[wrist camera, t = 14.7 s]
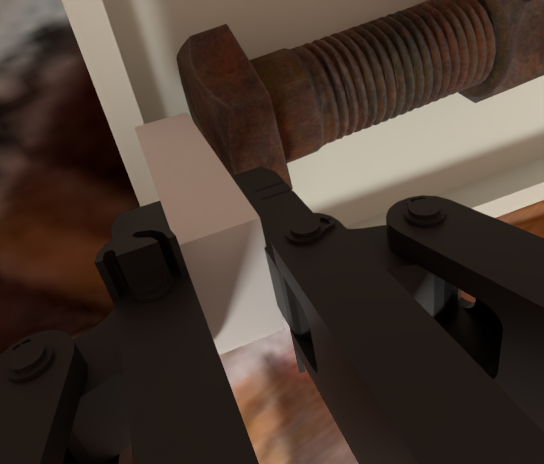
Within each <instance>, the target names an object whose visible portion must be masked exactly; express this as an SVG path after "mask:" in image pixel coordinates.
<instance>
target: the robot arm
mask: <svg viewBox="0 0 544 464" xmlns="http://www.w3.org/2000/svg"><path fill="white" fill-rule="evenodd" d="M134 128H135V131H136V134H137V136H138V139H139V142H140V145H141V148H142V151H143V153H144V156H145V159H146V162H147V165H148V168H149V171H150V173H151V176H152V179H153V182H154V185H155V188H156V191H157V193H158V196H159V199H160V201H157V202H154V203H151V204H148V205H145V206H141V207H138V208H135V209H132V210H129V211H126V212H123V213H120V214H118V215H117V217H116V219H115V221H114V222H113V224H112V226H111V233H112V240H111V241H109V242H108V243H107V244H105V245H104V247H103V248H102V249H101V250H100V251H99V252H98V254H97V257H96V261H95V265H96V267H97V269H98V271H99V273H100V275H101V277H102V279H103V282H104V284H105V286H106V288H107V290H108V292H109V294H110V296H111V298H112V300H113V304H114V309H113V310H112V312H111V313H110V314H109V315H108V316H107V317H106V318H105V319H104V320H103V321H102V322H100V323H99V324H98V325H96V326H95V327H93V328H92V329H90V330H89V331H87V332H85V333H84V334H82V335H80V336H79V337H77V338H75V339H74V340H73V339H72V338H71V336H70V335H69V334H68V333H65V332H62V331H59V330H49V331H41V332H38V333H35V334H32V335H29V336H26V337H25V338H23V339H21V340H19V341H17V342H16V343H14V344H13V345H11V346H10V347H8V348H7V349H6V350H5V351H4V352H3V353H2V354H0V464H131V458H132V454H133V462H134V464H259V463H258V460H257V457H256V455H255V452H254V449H253V446H252V444H251V441H250V438H249V436H248V433H247V430H246V427H245V425H244V422H243V419H242V417H241V414H240V411H239V408H238V406H237V403H236V400H235V398H234V395H233V392H232V389H231V387H230V384H229V381H228V378H227V376H226V373H225V370H224V368H223V365H222V362H221V359H220V357H219V355H221V354H223V353H226V352H228V351H231V350H234V349H236V348H239V347H241V346H244V345H246V344H249V343H251V342H254V341H256V340H259V339H261V338H264V337H267V336H269V335H272V334H274V333H277V332H279V331H282V330H284V329H285V328H284V323H283V319H282V315H283V316H284V318H285V320H286V321H287V323H288V325H289V327H290V331H291V336H292V341H293V345H294V350H295V354H296V359H297V364H298V368H299V372H300V373H302V372H304V371H305V369H304V366H305V367H306V369H307V371H308V373H309V375H310V376H311V378H312V380H313V382H314V384H315V385H316V387H317V389H318V391H319V393H320V395H321V396H322V398H323V400H324V402H325V404H326V405H327V407H328V409H329V411H330V413H331V414H332V416H333V418H334V420H335V422H336V423H337V425H338V427H339V429H340V431H341V432H342V434H343V436H344V438H345V440H346V442H347V443H348V445H349V447H350V449H351V451H352V452H353V454H354V456H355V458H356V460H357V461H358V463H359V464H544V238H541V237H539V236H537V235H534V234H532V233H529V232H527V231H525V230H522V229H520V228H517V227H515V226H512V225H510V224H508V223H505V222H503V221H500V220H498V219H496V218H493V217H491V216H488V215H486V214H484V213H481V212H479V211H476V210H474V209H471V208H469V207H467V206H464V205H462V204H459V203H457V202H455V201H452V200H449V199H446V198H442V197H438V196H426V195H421V196H414V197H409V198H406V199H404V200H401V201H398V202H396V203H395V204H394V205H393V206H391V207H390V208H389V210H388V212H387V215H386V225H381V226H374V227H367V228H358V229H347V228H346V227H345V226H344V225H343V224H342V223H341V222H340V221H339V220H337V219H335V218H334V217H332V216H330V215H326V214H322V213H313V212H312V211H311V210H310V209H309V208H308V206H307V205H306V204H305V203H304V202H303V201H302V200H301V199H300V198H299V197H298V195H297V194H296V193H295V192H294V191H292V189H291V188H290V187H289V186H288V184H287V183H285V181H284V180H283V179H282V178H281V177H280V176H279V175H278V173H277V172H275V171H272V170H269V169H267V168H264V167H261V166H260V167H257V168H254V169H251V170H248V171H245V172H242V173H239V174H236V175H232V176H231V175H230V174H229V173H228V171H227V170H226V168H225V167H224V165H223V164H222V162H221V161H220V160H219V158H218V157H217V155H216V154H215V152H214V151H213V150H212V148H211V147H210V145H209V144H208V142H207V141H206V140H205V138H204V137H203V135H202V134H201V132H200V131H199V130H198V128H197V127H196V125H195V124H194V122H193V121H192V119H191V118H190V117H189V115H188V114H187V112H185V113H182V114H178V115H175V116H171V117H168V118H164V119H161V120H157V121H154V122H150V123H147V124H144V125H140V126H137V127H134ZM461 290H462V291H464V292H466V293H467V294H469V295H471V296H473V297H474V298H476V302H475V303H472V302H469V301H467V300H465V299H463V298H462V297H460V296H461ZM281 313H282V314H281Z"/></svg>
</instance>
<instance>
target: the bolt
mask: <svg viewBox="0 0 544 464" xmlns="http://www.w3.org/2000/svg"><path fill="white" fill-rule="evenodd" d="M176 60H177V64H178V69H179V74H180V79H181V83H182V87H183V90H184V94H185V97H186V101H187V105H188V108H189V112H190V115H191V117H192V120H193V122H194V124H195V125H196V127H197V128H198V130H199V131H200V132H201V134H202V135H203V137H204V138H205V140H206V141H207V142H208V144H209V145H210V147H211V148H212V150H213V151H214V152H215V154H216V155H217V157H218V158H219V160H220V161H221V162H222V164H223V165H224V167H225V168H226V170H227V171H228V173H229V174H230V175H231V176H232V175H236V174H239V173H242V172H245V171H248V170H251V169H254V168H257V167H260V166H261V167H264V168H267V169H269V170H272V171H275V172H277V173H278V175H279V176H280V177H281V178H282V179H283V180H284V181H285V183H287V184H288V186H289V187H290V188H291V189H293V187H292V183H291V179H290V175H289V171H288V167H287V163H290V162H292V161H295V160H297V159H300V158H302V157H304V156H307V155H309V154H312V153H314V152H317V151H318V150H319V149H320V148H321V147H322V146H324V145H326V144H327V143H331V142H333V141H335V140H336V139H337V140H338V139H342V138H343V137H344V136H348V135H351V134H352V133H353V132H354V133H355V132H358V131H361V130H362V129H366V128H369V127H371V126H372V125H378V124H380V123H381V122H386V121H387V120H389V119H392V118H396V117H397V116H398V115H403V114H405V113H407V112H411V111H412V110H414V109H415V108H420V107H422V106H424V105H428V104H430V103H431V102H435V101H438V100H439V99H440V98H441V99H442V98H445V97H447V96H448V95H452V94H455V93H456V92H458V93H459V94H460V95H462V96H464V97H465V98H467V99H469V100H470V101H472V102H474V103H477V102H480V101H482V100H485V99H487V98H490V97H492V96H495V95H497V94H500V93H502V92H505V91H507V90H510V89H512V88H514V87H517V86H519V85H522V84H524V83H526V82H529V81H531V80H534V79H536V78H538V77H541V76H543V75H544V0H429V1H425V2H422V3H420V4H417V5H415V6H412V7H409V8H407V9H404V10H402V11H397V12H396V13H394V14H388V15H387V16H386V17H380V18H378V19H376V20H372V21H369V22H367V23H364V24H360V25H358V26H357V27H356V26H354V27H351V28H349V29H348V30H347V29H346V30H344V31H341V32H339V33H334V34H332V35H330V36H325V37H323V38H321V39H320V40H317V39H316V40H314V41H313V42H312V43H306V44H304V45H302V46H298V47H295V48H292V49H286V48H283V49H280V50H277V51H274V52H272V53H269V54H266V55H263V56H260V57H257V58H255V59H252V60H249V59H248V58H247V56H246V54H245V53H244V51H243V49H242V48H241V46H240V45H239V43H238V41H237V40H236V38H235V36H234V35H233V33H232V31H231V30H230V28H229V27H228V25H227V24H224V25H221V26H218V27H215V28H212V29H209V30H206V31H203V32H200V33H198V34H195V35H192V36H190V37H189V38H188V39H187V40H186V41H185V43H184V44H183V45H182V46H181V48H180V50H179V52H178V54H177V58H176Z"/></svg>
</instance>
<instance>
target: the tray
mask: <svg viewBox="0 0 544 464" xmlns="http://www.w3.org/2000/svg"><path fill="white" fill-rule="evenodd" d="M61 1H62V3H63V6H64V8H65V11H66V14H67V16H68V19H69V22H70V24H71V27H72V29H73V32H74V35H75V37H76V40H77V42H78V45H79V48H80V50H81V53H82V56H83V58H84V61H85V63H86V66H87V69H88V71H89V74H90V76H91V79H92V82H93V84H94V87H95V89H96V92H97V95H98V97H99V100H100V103H101V105H102V108H103V110H104V113H105V116H106V118H107V121H108V123H109V126H110V129H111V131H112V134H113V137H114V139H115V142H116V144H117V147H118V150H119V152H120V155H121V157H122V160H123V163H124V165H125V168H126V171H127V173H128V176H129V178H130V181H131V184H132V186H133V189H134V191H135V194H136V197H137V199H138V202H139V204H140V207H141V206H145V205H148V204H151V203H154V202H157V201H160V199H159V196H158V193H157V191H156V188H155V185H154V182H153V179H152V176H151V173H150V171H149V168H148V165H147V162H146V159H145V156H144V153H143V151H142V148H141V145H140V142H139V139H138V136H137V134H136V131H135V128H134V127H137V126H140V125H144V124H147V123H150V122H154V121H157V120H161V119H164V118H168V117H171V116H175V115H178V114H182V113H185V112H187V114H188V115H189V117H190V118H191V119H192V117H191V115H190V112H189V108H188V105H187V101H186V97H185V94H184V90H183V87H182V83H181V79H180V74H179V69H178V64H177V60H176V58H177V54H178V52H179V50H180V48H181V46H182V45H183V44H184V43H185V41H186V40H187V39H188V38H189V37H190V36H192V35H195V34H198V33H200V32H203V31H206V30H209V29H212V28H215V27H218V26H221V25H224V24H227V25H228V27H229V28H230V30H231V31H232V33H233V35H234V36H235V38H236V40H237V41H238V43H239V45H240V46H241V48H242V49H243V51H244V53H245V54H246V56H247V58H248V59H249V60H252V59H255V58H257V57H260V56H263V55H266V54H269V53H272V52H274V51H277V50H280V49H283V48H286V49H292V48H295V47H298V46H302V45H304V44H306V43H312V42H313V41H314V40H316V39H317V40H320V39H321V38H323V37H325V36H330V35H332V34H334V33H339V32H341V31H344V30H346V29H347V30H348V29H349V28H351V27H354V26H356V27H357V26H358V25H360V24H364V23H367V22H369V21H372V20H376V19H378V18H380V17H386V16H387V15H388V14H394V13H396V12H397V11H402V10H404V9H407V8H409V7H412V6H415V5H417V4H420V3H422V2H425V1H429V0H61ZM192 121H193V120H192ZM287 167H288V171H289V175H290V179H291V183H292V187H293V189H292V191H294V192H295V193H296V194H297V195H298V197H299V198H300V199H301V200H302V201H303V202H304V203H305V204H306V205H307V206H308V208H309V209H310V210H311V211H312V212H313V213H322V214H326V215H330V216H332V217H334V218H335V219H337V220H339V221H340V222H341V223H342V224H343V225H344V226H345V227H346V228H347V229H358V228H367V227H374V226H381V225H386V215H387V212H388V210H389V208H390V207H391V206H393V205H394V204H395V203H396V202H398V201H401V200H404V199H406V198H409V197H414V196H421V195H426V196H438V197H442V198H446V199H449V200H452V201H455V202H457V203H459V204H462V205H464V206H467V207H469V208H471V209H474V210H476V211H479V212H481V213H484V214H486V215H488V216H491V217H493V218H496V217H498V216H501V215H504V214H506V213H509V212H512V211H515V210H517V209H520V208H523V207H525V206H528V205H531V204H533V203H536V202H539V201H541V200H544V75H543V76H541V77H538V78H536V79H534V80H531V81H529V82H526V83H524V84H522V85H519V86H517V87H514V88H512V89H510V90H507V91H505V92H502V93H500V94H497V95H495V96H492V97H490V98H487V99H485V100H482V101H480V102H477V103H474V102H472V101H470V100H469V99H467V98H465V97H464V96H462V95H460V94H459V93H458V92H456V93H455V94H452V95H448V96H447V97H445V98H442V99H441V98H440V99H439V100H438V101H435V102H431V103H430V104H428V105H424V106H422V107H420V108H415V109H414V110H412V111H411V112H407V113H405V114H403V115H398V116H397V117H396V118H392V119H389V120H387V121H386V122H381V123H380V124H378V125H372V126H371V127H369V128H366V129H362V130H361V131H358V132H355V133H354V132H353V133H352V134H351V135H348V136H344V137H343V138H342V139H338V140H337V139H336V140H335V141H333V142H331V143H327V144H326V145H324V146H322V147H321V148H320V149H319V150H318V151H317V152H314V153H312V154H309V155H307V156H304V157H302V158H300V159H297V160H295V161H292V162H290V163H287Z"/></svg>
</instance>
